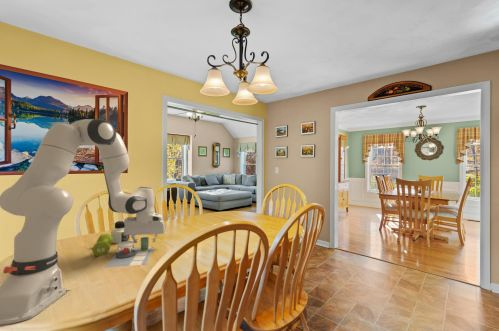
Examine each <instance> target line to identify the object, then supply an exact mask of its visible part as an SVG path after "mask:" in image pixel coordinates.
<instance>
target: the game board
mask: <svg viewBox="0 0 499 331" xmlns="http://www.w3.org/2000/svg"><path fill="white" fill-rule="evenodd" d="M154 249H155V247H154V246H148V249H147V250H141V247H134V248H133V247H131V252H130V247H127V248H122V249H121V248H119V252H118V253H117V252H115V255H114V256H113V257H112V258H111V260H110V261H109V262H108V263H107V264H106V265H104V268H117V267H133V266H134V267H135V266H145V265H146V264H147V262H148V261H149V258H150V256H151V255H152V252H153V250H154Z"/></svg>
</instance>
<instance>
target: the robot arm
mask: <svg viewBox="0 0 499 331" xmlns="http://www.w3.org/2000/svg"><path fill="white" fill-rule="evenodd" d="M80 146H90V147H92V146H95V147H97V148H98V151H99V155H100V157H101V161H102V164H103V173H104V174H103V175H104V180H105V185H106V189H107V192H108V193H107V194H108V203H107V204H108V208H109V209H110V210H111V212H113V213H121V214H127V215H135V216H129V217H126V218H124V220H123V221H124V225H125V227H124V234H125V235H129V236H130V238H131V239H132V241H133V242H134V244H137V243H138V239H137V238H136V236H138V235H140V236H141V235H143V236H144V235H154V237H153V238H152V239H151V240H152V243H156V242H157V241H156V240H157V237H158V235H163V234H164V233H165V231H166V227H165V221H164V219H163V218H164V216H163V214H162V213H157V212H155V208H154V206H155V191H154V190H153V188H152V187H146V186H139V187H137V189H136V190H135V191H133V192H132V193H129V194H127V193H126V192H124V191H123V189H122V185H121V179H120V176H121V174H122V173H124V172H125V171H126V170H127V169H128V168H129V166H130V165H131V164H130V157H129V153H128V149H127V147H126V145H125V143H124V140H123V138H122V136H121V135H120V134H119V133H118V132H116V130H115V128H114V125H113V124H112V123H111V122H110V121H108V120H107V119H103V118H94V119H93V118H92V119H91V118H90V119H89V118H88V119H87V118H86V119H85V118H84V119H79V120H75V121H71V122H69V123H66V122H58V123H55V124H52V126H51V127H50V128H49V129H48V131H47V132H46V133H45V134H44V137H43V138H42V140H41V142H40V144H39V147H38V148H37V151H36V153H35V154H34V156H33V159H32V160H31V162H30V165H29V166H28V168H27V169H26V170H25V171H24V173H22V175H21V176H20V177H19V178H18V179H17V181H15V183H13V185H11V186H10V187H8V188H6V189H5V190H3V191H2V193H0V208H1V209H2V210H3V211H5V212H7V213H9V214H12V215H14V216H20V217H24V223H23V227H22V228H21V230H20V231H19V232H18V233H17V234H16V235H15V236H14V239H13V240H14V241H13V259H12V261H11V263H10V266H5V267H4V268H3V269H2V271H3V272H2V273H3V274H8V275H7V278H6V279H5V280H3V281H4V282H3V283H1V285H0V326H2V325H9V324H14V323H18V322H23V321H27V320H30V319H32V318H34V317H35V316H37V315H38V314H39V313H41V312H42V311H43V310H45V309H47V307H49V306H51V305H52V304H53V303H54V302H56V301H57V300H59V299H60V298H61V297H63V296H64V295H65V294H67V288H64V285H63V276H62V275H63V274H62V269H61V268H60V267H59V266H58V264H57V263H58V261H59V260H58V259H59V254H58V251H57V234H58V230H59V226H60V224H61V221H62V220H63V218H64V216H65V215H67V214H68V213H69V212H70V211H71V210H72V208H73V203H74V198H73V196H72V194H71V193H70V192H69V191H67V190H66V189H63V188H60V187H57V186H55V185H56V184H57V183H58V182H59V181H60V180H62V179H63V178H65V177H66V176H68V174H69V172H70V170H71V167H72V164H73V162H74V160H75V157H76V155H77V152H78V149H79V147H80Z"/></svg>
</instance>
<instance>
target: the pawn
mask: <svg viewBox="0 0 499 331" xmlns="http://www.w3.org/2000/svg"><path fill="white" fill-rule="evenodd" d="M148 247H149V236H143V237H141V238H140V248H141V250H147V249H148Z"/></svg>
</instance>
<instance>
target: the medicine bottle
mask: <svg viewBox="0 0 499 331" xmlns="http://www.w3.org/2000/svg"><path fill="white" fill-rule="evenodd" d="M124 227H125V225H124V220H119V221H115V222H114V229H113V230H111V231H110V235H111V236H112V238H113V242H112V243H111V244H117V245H118V243H120V242H124V241H130V235H125V234H124Z"/></svg>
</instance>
